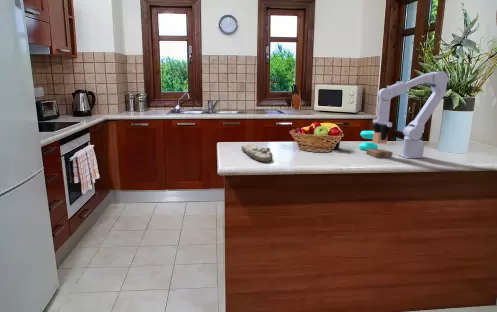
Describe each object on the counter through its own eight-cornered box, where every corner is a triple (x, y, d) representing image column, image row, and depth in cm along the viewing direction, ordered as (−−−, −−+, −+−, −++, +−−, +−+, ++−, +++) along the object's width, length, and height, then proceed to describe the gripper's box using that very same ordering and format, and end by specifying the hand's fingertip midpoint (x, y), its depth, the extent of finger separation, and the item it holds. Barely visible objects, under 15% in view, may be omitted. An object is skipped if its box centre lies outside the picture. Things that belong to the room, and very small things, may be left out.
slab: (381, 154, 188) (382, 148, 188) (391, 158, 180) (392, 152, 179) (366, 154, 187) (366, 149, 186) (375, 158, 178) (375, 152, 178)
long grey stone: (254, 150, 198) (237, 152, 195) (254, 141, 197) (237, 142, 194) (278, 161, 165) (257, 163, 162) (277, 150, 164) (257, 152, 161)
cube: (381, 141, 184) (382, 132, 183) (386, 143, 180) (387, 133, 178) (372, 141, 184) (373, 132, 182) (377, 143, 179) (378, 133, 178)
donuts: (360, 129, 203) (378, 131, 200) (358, 147, 205) (377, 148, 202) (360, 132, 193) (380, 133, 191) (359, 150, 196) (378, 151, 193)
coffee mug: (328, 150, 194) (330, 132, 192) (322, 147, 203) (323, 129, 200) (348, 149, 197) (350, 131, 194) (341, 146, 205) (342, 129, 203)
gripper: (368, 111, 184) (366, 136, 187) (384, 114, 171) (381, 141, 174) (380, 111, 186) (378, 136, 189) (397, 114, 172) (394, 141, 175)
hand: (380, 139), depth 181 cm, fingers closed on cube, 5 cm apart
